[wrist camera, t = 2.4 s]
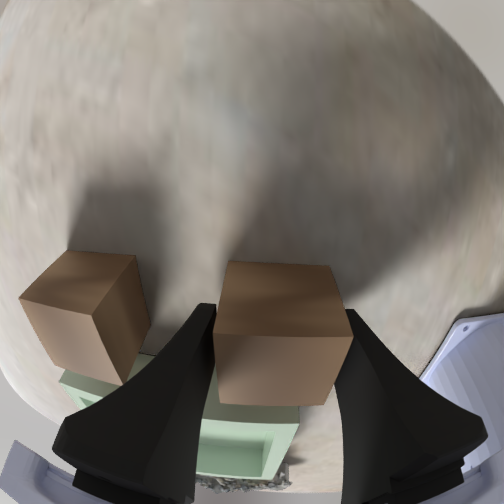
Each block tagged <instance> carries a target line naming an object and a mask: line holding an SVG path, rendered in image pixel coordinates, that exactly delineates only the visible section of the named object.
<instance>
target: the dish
mask: <svg viewBox="0 0 504 504" xmlns="http://www.w3.org/2000/svg"><path fill="white" fill-rule="evenodd" d="M154 357H155V356H151V355H145V354H139V353H138V355H137V357H136V360H135V362H134V364H133V367H132V369H131V372H130V374H129V376H128V379H127V381H128V380H129V379H131V378H132V377H133V376H134V375H136V374H137V373H138V372H139V371H140V370H141V369H143V368H144V367H145V366H146V365H147V364H148V363H149V362H150V361H151V360H152V359H153V358H154ZM127 381H126V382H127ZM59 383H60V384H61V386H62V387H63V388H64V390H65V391H66V392H67V394H68V395H69V396H70V397H71V399H72V400H73V401H74V402H75V404H76V405H77V406H78V407H79V408H80V410H82V409H84V408H86V407H88V406H90V405H92V404H94V403H95V402H97V401H99V400H100V399H102V398H104V397H105V396H107V395H108V394H110V393H111V392H113V391H115V390H116V389H117V388H119V387H120V386H119V385H115V384H112V383H108V382H104V381H101V380H98V379H94V378H91V377H88V376H84V375H81V374H78V373H75V372H72V371H70V370H67V369H66V370H65V371H64V373H63V375H62V377H61V379H60V380H59ZM299 424H300V423H299V408H298V406H258V405H239V404H226V403H220V399H219V391H218V382H217V372H216V364H215V367H214V371H213V375H212V379H211V383H210V387H209V391H208V395H207V399H206V403H205V407H204V411H203V416H202V422H201V430H200V438H199V447H198V456H197V467H196V474H201V475H209V476H217V477H227V478H240V479H264V480H272V479H273V477H274V476H275V474H276V472H277V470H278V468H279V466H280V464H281V462H282V460H283V458H284V456H285V454H286V452H287V450H288V448H289V446H290V443H291V441H292V439H293V437H294V435H295V433H296V430H297V428H298V426H299Z"/></svg>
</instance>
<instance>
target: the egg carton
mask: <svg viewBox="0 0 504 504" xmlns="http://www.w3.org/2000/svg"><path fill="white" fill-rule="evenodd" d="M195 483H199V484H200V485H201V486H204V487H205V488H206V489H207V488H210V489H211V490H212V491H213V492H215V493H216V494H218V493H221V492H229V491H232V492H234V491H238V490H241V491H243V492H247V491H250V490H262V489H270V490H277V491H278V490H283V489H285V488H287V487H288V486H290V485H291V484H292V482H289V466H288V464H287V463H281V464H280V466H279V468H278V470H277V472H276V474H275V476H274V477H273V479H272V480H264V479H240V478H227V477H217V476H209V475H201V474H196V479H195Z"/></svg>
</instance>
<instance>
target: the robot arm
mask: <svg viewBox="0 0 504 504" xmlns="http://www.w3.org/2000/svg"><path fill="white" fill-rule="evenodd" d="M345 311H346V314H347V317H348V320H349V323H350V326H351V329H352V333H353V336H354V337H353V340H352V342H351V345H350V347H349V350H348V352H347V355H346V357H345V360H344V362H343V364H342V367H341V369H340V371H339V373H338V376H337V378H336V380H335V382H334V385H335V390H336V394H337V399H338V403H339V408H340V413H341V420H342V432H343V455H344V466H343V489H342V499H341V504H504V313H500V314H494V315H487V316H480V317H472V318H463V319H459V320H457V321H456V322H455V323H454V325H453V326H452V328H451V330H450V332H449V333H448V335H447V337H446V338H445V340H444V342H443V343H442V345H441V347H440V348H439V350H438V351H437V353H436V355H435V356H434V358H433V359H432V361H431V362H430V364H429V365H428V367H427V368H426V370H425V371H424V372H423V374H422V375H421V377H420V378H418V377H417V376H415V375H414V374H413V373H412V372H411V371H410V370H409V369H408V368H406V367H405V366H404V365H403V364H402V363H401V362H400V361H399V360H398V359H397V358H396V357H395V356H394V355H393V354H392V353H391V351H390V350H389V349H388V348H387V347H386V346H385V345H384V344H383V343H382V342H381V340H380V339H379V338H378V337H377V336H376V335H375V334H374V332H373V331H372V330H371V329H370V328H369V326H368V325H367V324H366V323H365V322H364V321H363V319H362V318H361V317H360V316H359V315H358V313H357V312H356V311H355V310H354V309H345ZM216 315H217V312H216V304H208V303H200V304H198V305H197V307H196V308H195V310H194V311H193V313H192V314H191V315H190V317H189V318H188V319H187V321H186V322H185V323H184V325H183V326H182V327H181V328H180V329H179V331H178V332H177V333H176V334H175V335H174V337H173V338H172V339H171V340H170V341H169V343H168V344H167V345H166V346H165V347H164V348H163V349H162V350H161V351H160V352H159V353H158V354H157V355H156V356H155V357H154V358H153V359H152V360H151V361H150V362H149V363H148V364H147V365H146V366H145V367H144V368H143V369H141V370H140V371H139V372H138V373H137V374H136V375H134V376H133V377H132V378H131V379H129V380H128V381H127V382H126V383H124V384H123V385H122V386H120V387H119V388H117V389H116V390H115V391H113V392H111V393H110V394H108V395H107V396H105V397H104V398H102V399H100V400H99V401H97V402H95V403H94V404H92V405H90V406H88V407H86V408H84V409H82V410H80V411H78V412H76V413H74V414H72V415H70V416H68V417H65V419H64V421H63V423H62V425H61V426H60V429H59V431H58V434H57V436H56V439H55V441H54V444H53V447H52V450H53V452H54V453H55V454H56V455H58V456H59V457H60V458H62V459H63V460H64V461H66V462H67V463H69V464H70V465H72V466H73V467H75V468H76V469H77V470H76V473H75V476H74V475H72V474H69V473H67V472H66V471H63V470H62V469H60V468H58V467H56V466H54V465H52V464H51V463H49V462H48V461H47V460H46V459H44V458H43V457H41V456H40V455H38V454H37V453H35V452H34V451H32V450H30V449H29V448H27V447H26V446H24V445H23V444H21V443H20V442H18V441H17V440H14V443H13V445H12V448H11V450H10V452H9V455H8V457H7V460H6V463H5V465H4V468H3V471H2V473H1V476H0V488H1V489H2V490H3V491H4V492H6V493H7V494H8V495H9V496H10V497H12V498H13V499H14V500H15V501H17V502H18V503H19V504H191V503H193V502H194V493H195V479H196V467H197V456H198V447H199V438H200V430H201V422H202V416H203V411H204V407H205V403H206V399H207V395H208V391H209V387H210V383H211V379H212V375H213V371H214V367H215V352H214V341H213V329H214V325H215V320H216Z"/></svg>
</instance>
